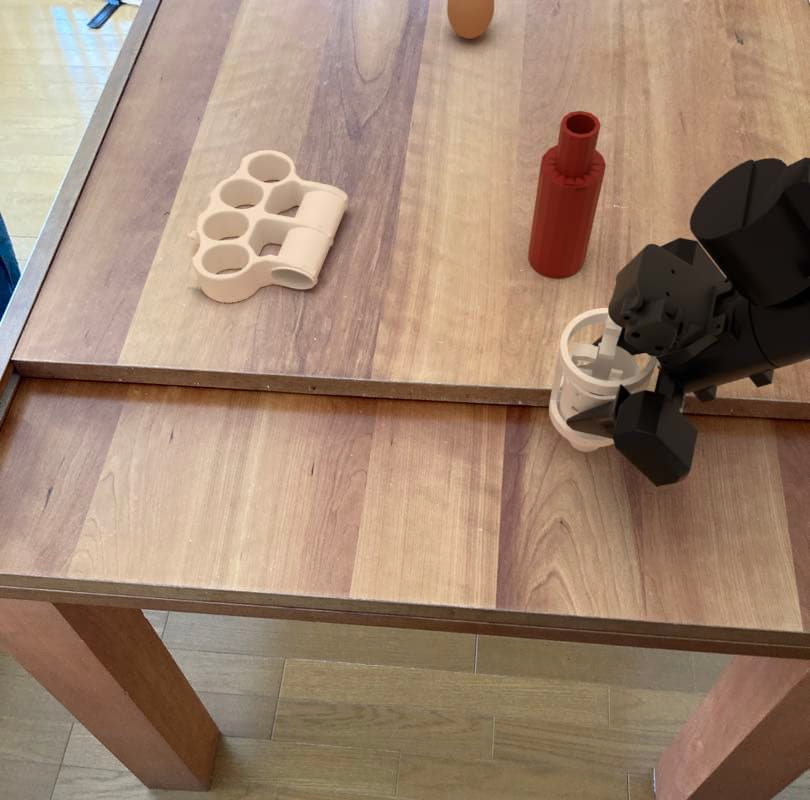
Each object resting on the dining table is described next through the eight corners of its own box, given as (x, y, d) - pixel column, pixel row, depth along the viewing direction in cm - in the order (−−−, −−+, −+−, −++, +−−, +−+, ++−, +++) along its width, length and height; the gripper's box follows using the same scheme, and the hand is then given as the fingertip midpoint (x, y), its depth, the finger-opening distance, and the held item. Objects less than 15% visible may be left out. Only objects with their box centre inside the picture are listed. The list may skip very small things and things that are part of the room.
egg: (454, 53, 96) (456, -8, 90) (441, 26, 98) (441, -36, 92) (498, 44, 96) (503, -18, 90) (483, 17, 99) (487, -46, 92)
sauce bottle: (576, 232, 83) (604, 97, 70) (590, 274, 81) (622, 141, 67) (522, 240, 83) (540, 106, 69) (535, 282, 81) (556, 151, 67)
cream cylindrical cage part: (629, 419, 73) (669, 306, 59) (616, 487, 70) (654, 385, 56) (551, 404, 74) (572, 289, 60) (535, 470, 71) (553, 366, 58)
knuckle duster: (306, 319, 79) (167, 292, 81) (359, 190, 87) (230, 168, 89) (301, 295, 76) (156, 267, 78) (356, 163, 84) (223, 141, 86)
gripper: (729, 139, 53) (543, 237, 65) (682, 361, 46) (482, 427, 57) (806, 253, 59) (623, 324, 71) (776, 468, 51) (576, 507, 63)
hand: (579, 389), depth 65 cm, fingers closed on cream cylindrical cage part, 7 cm apart
